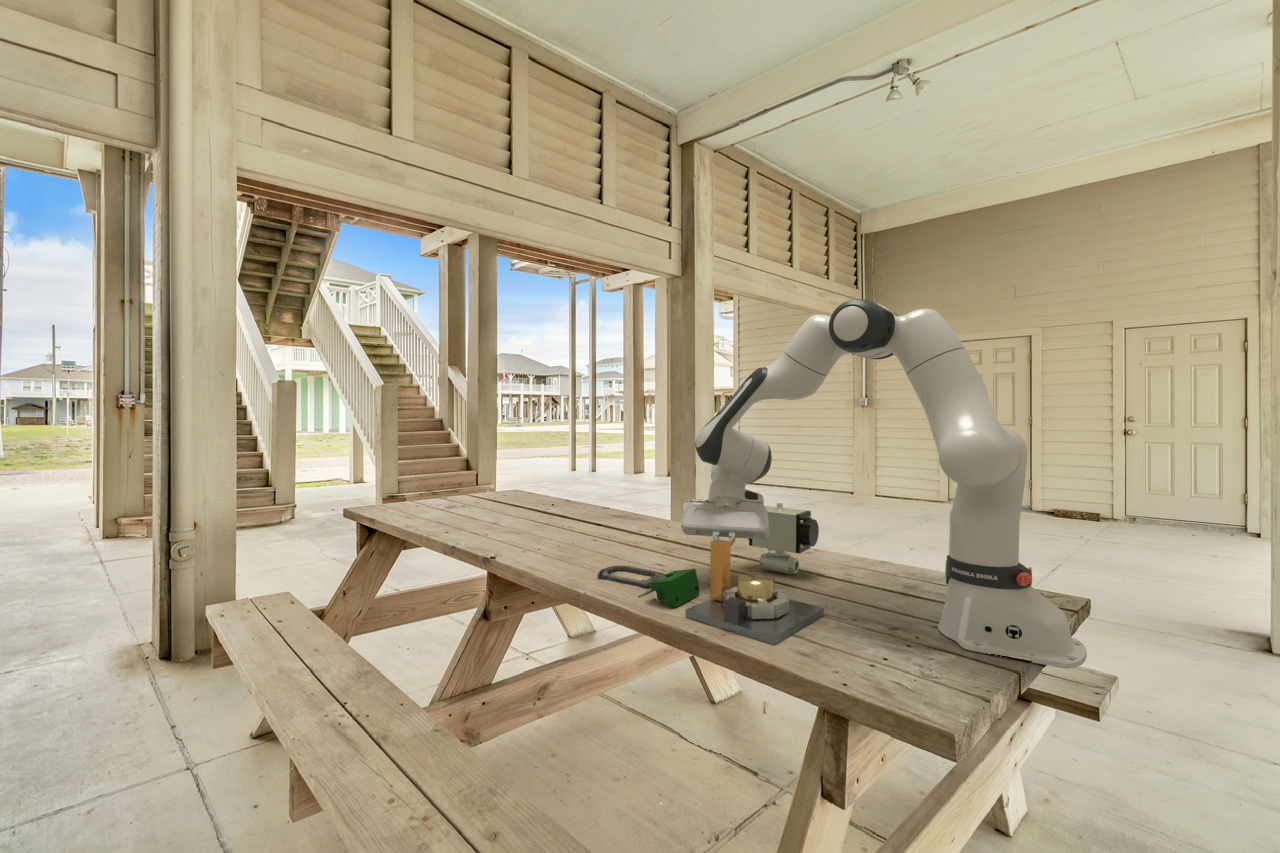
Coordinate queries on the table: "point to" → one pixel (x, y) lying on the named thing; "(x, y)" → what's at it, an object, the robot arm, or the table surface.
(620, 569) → the c clamp
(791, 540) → the ball valve
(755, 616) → the ring of rectangular blocks
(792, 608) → the base plate
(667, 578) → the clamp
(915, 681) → the table surface
